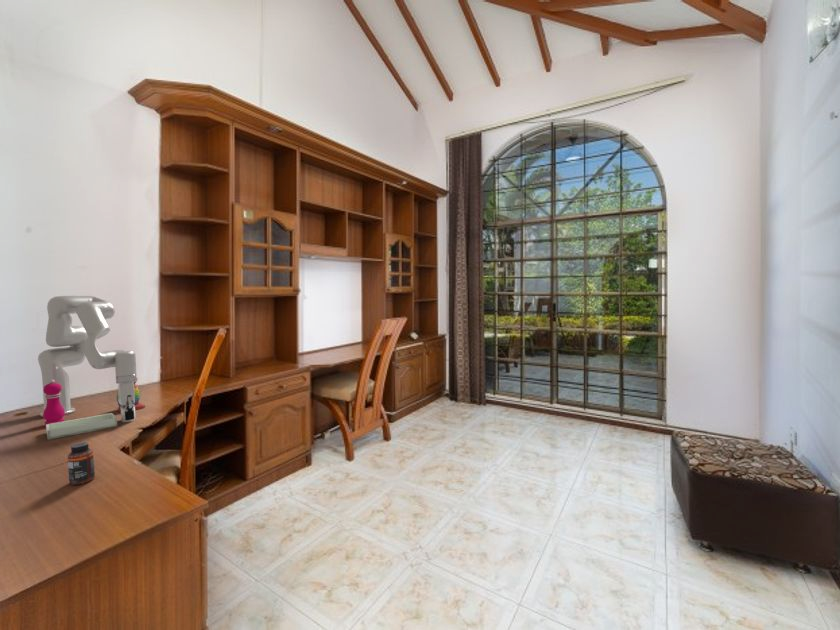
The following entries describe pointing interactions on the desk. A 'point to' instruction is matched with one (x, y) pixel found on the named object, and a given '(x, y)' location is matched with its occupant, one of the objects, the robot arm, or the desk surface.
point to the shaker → (124, 414)
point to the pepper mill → (53, 403)
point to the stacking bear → (137, 396)
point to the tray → (80, 426)
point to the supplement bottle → (80, 464)
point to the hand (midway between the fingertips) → (128, 417)
